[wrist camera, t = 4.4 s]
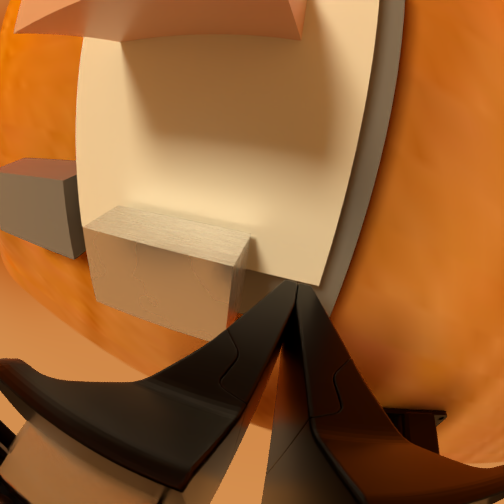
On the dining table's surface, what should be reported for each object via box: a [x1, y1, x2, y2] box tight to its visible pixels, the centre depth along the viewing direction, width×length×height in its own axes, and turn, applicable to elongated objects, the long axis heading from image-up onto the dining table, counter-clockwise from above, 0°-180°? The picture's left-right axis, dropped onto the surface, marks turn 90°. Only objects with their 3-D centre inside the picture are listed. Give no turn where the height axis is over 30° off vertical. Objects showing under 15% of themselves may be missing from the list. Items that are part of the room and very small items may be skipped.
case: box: [0, 0, 405, 317], centre depth 10 cm, size 16×20×3 cm
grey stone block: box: [83, 205, 251, 342], centre depth 9 cm, size 3×5×2 cm, turn 82°
